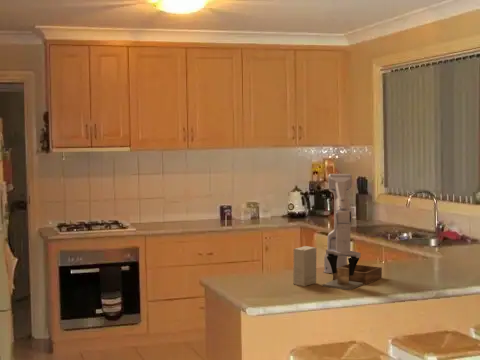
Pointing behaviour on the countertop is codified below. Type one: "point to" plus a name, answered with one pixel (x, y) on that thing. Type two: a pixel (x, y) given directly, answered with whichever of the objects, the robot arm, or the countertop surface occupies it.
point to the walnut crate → (362, 273)
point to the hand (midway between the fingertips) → (342, 274)
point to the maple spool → (343, 276)
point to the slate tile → (348, 287)
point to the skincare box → (304, 266)
